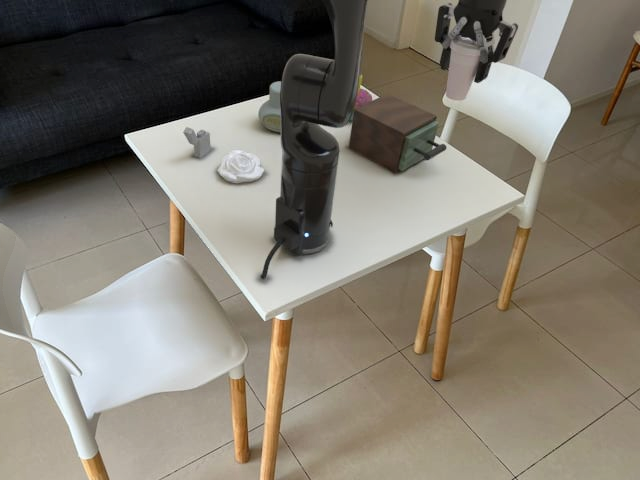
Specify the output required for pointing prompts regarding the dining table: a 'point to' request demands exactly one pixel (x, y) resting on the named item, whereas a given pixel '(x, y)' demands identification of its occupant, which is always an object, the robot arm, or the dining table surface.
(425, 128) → the drawer
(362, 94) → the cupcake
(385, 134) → the cabinet
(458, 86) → the smoothie
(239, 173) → the rose
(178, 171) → the dining table surface
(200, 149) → the lighter
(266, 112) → the air freshener
